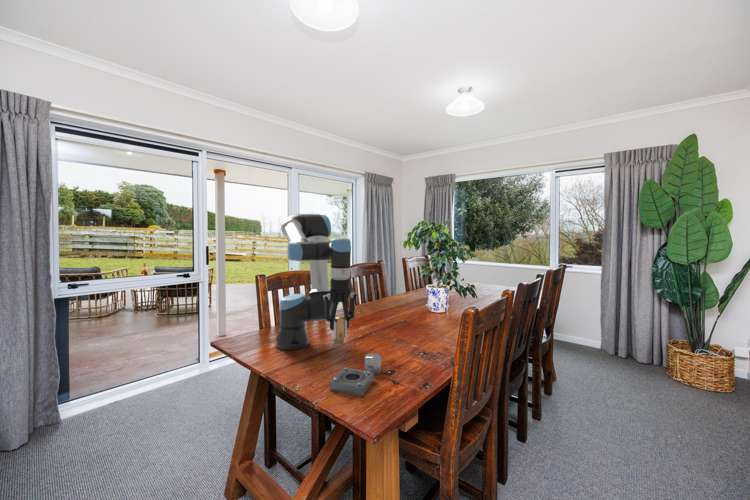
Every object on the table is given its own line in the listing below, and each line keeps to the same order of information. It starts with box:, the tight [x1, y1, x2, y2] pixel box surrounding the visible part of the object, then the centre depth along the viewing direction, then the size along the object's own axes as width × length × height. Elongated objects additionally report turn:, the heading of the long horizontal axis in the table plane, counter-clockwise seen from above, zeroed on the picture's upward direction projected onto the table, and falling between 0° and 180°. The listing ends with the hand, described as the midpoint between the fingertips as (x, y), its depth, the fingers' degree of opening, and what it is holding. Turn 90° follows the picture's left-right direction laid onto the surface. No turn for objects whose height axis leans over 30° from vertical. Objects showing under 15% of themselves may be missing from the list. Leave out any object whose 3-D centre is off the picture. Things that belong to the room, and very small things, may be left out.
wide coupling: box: [363, 352, 382, 376], centre depth 125 cm, size 6×6×6 cm
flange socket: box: [329, 366, 375, 397], centre depth 114 cm, size 12×12×4 cm
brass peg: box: [333, 315, 345, 345], centre depth 126 cm, size 4×4×10 cm
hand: (339, 336), depth 126 cm, fingers closed on brass peg, 4 cm apart
